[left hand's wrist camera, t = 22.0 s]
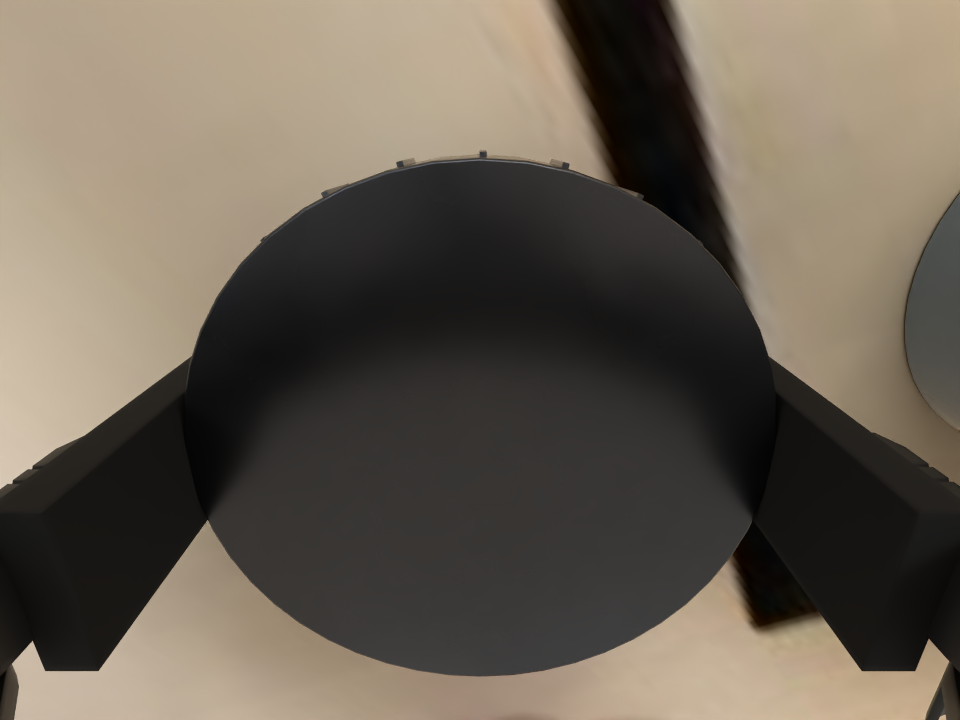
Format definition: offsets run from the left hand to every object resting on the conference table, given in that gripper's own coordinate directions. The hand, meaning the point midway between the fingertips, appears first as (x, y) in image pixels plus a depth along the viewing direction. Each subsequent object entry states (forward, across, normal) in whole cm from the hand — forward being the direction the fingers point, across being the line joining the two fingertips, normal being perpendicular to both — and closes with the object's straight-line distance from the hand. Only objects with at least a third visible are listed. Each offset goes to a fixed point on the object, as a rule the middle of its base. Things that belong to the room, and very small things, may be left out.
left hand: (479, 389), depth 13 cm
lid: (-3, 0, 0) cm, 3 cm away
